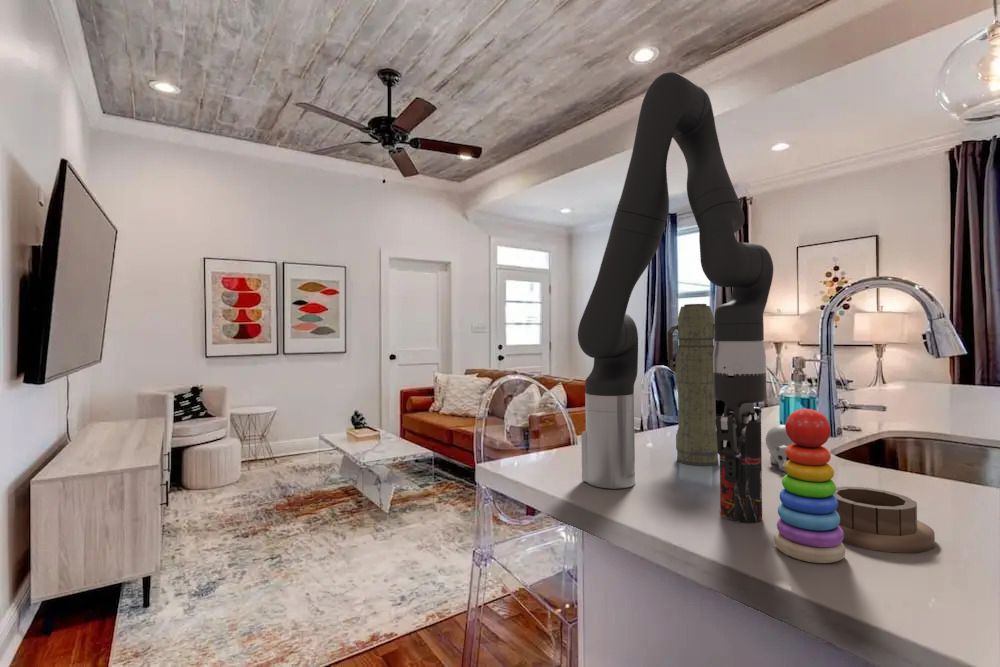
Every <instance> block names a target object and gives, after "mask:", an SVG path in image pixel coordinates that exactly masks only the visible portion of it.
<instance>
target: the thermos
mask: <svg viewBox="0 0 1000 667" xmlns="http://www.w3.org/2000/svg"><path fill="white" fill-rule="evenodd" d="M714 325H715V324H714V314H713V311H712V308H711V306H710V305H707V303H690V304H689V303H688V304H684V306H681V307H680V310H679V313H678V317H677V325H675V326H674V325H672V326H671V327H670V329H669V330H668V332H667V348H668V349H667V350H668V352H667V353H668V369H669V370H670V371H671V372H673V373H674V374H675V383H676V385H677V416H678V419H677V420H678V425H677V426H678V428H677V430H676V434H675V449H676V453H677V454H676V455H677V457H676V461H677V462H679V463H681V464H684V465H689V466H698V467H709V466H710V467H711V466H715V465H718V464H719V454H718V447H717V432H716V416H717V412H716V411H717V410H716V409H717V407H716V406H717V405H716V404H717V403H716V401H717V400H716V399H715V398H714V396H713V351H714ZM675 330H676V331H677V339H678V346H677V353H676V356H675V359H674V345H673V344H674V343H673V342H674V338H673V335H674V334H673V333H674V332H675ZM674 361H675V366H674Z"/></svg>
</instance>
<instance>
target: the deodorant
mask: <svg viewBox="0 0 1000 667" xmlns="http://www.w3.org/2000/svg"><path fill="white" fill-rule="evenodd" d="M745 427H746V444H743V445H742V456H741V470H742V481H741V482H740V483H738V484H737V483H731V482H727V481H726V480H725V457H723V455H719V495H720V496H719V499H720V500H719V501H720V502H719V504H720V505H719V506H720V509H719V510H720V512H719V513H720V516H721V517H722V518H724V519H726V520H728V521H732V522H737V523H743V524H754V523H755V524H756V523H761V522H762V520H763V478H762V477H763V474H762V473H763V472H762V471H763V469H762V468H763V466H762V463H763V462H762V420H761V421H760V420H756V421H752V420H751V423H741V428H740V429H739V430H737V429H736V437H740V436H741V434H742V429H744V428H745ZM723 443H724V441H723ZM729 448H731V442H729Z"/></svg>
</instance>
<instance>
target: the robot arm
mask: <svg viewBox="0 0 1000 667" xmlns="http://www.w3.org/2000/svg"><path fill="white" fill-rule="evenodd" d="M635 132H636V133H635V138H634V143H633V146H632V147H633V149H632V152H631V155H630V156H631V157H630V162H629V166H628V169H627V173H626V176H625V180H624V183H623V188H622V191H621V195H620V199H619V202H618V204H617V206H616V210H615V213H614V218H613V221H612V223H611V227H610V231H609V236H608V239H607V244H606V246H605V249H604V252H603V257H602V260H601V264H600V267H599V271H598V273H597V278H596V280H595V283H594V286H593V288H592V291H591V293H590V297H589V298H588V301H587V302H586V303H587V304H586V305H585V308H584V310H583V313H582V316H581V319H580V321H579V325H578V328H577V340H578V344H579V347H580V349H581V350H582V352H583V353H584V354H585V355H586V356H588V357H590V358H594V359H593V367H592V369H591V370H592V371H590V374H589V375H588V376H587V377H586V378H585V381H584V392H585V393H584V395H585V399H584V400H585V401H584V402H585V407H584V408H585V430H583V431H581V440H580V442H581V481H582V482H586V483H587V484H588V485H591V486H593V487H597V488H603V489H613V490H615V489H617V490H618V489H628V488H630V487H633V486H634V485H635V484H636V467H635V466H636V459H635V458H636V457H635V456H636V455H635V454H636V450H635V446H636V444H635V440H636V439H635V436H636V435H635V382H636V380H637V378H638V376H637V375H638V370H639V367H638V365H639V333H638V328H637V325H636V323H635V320H634V318H632V317H631V316H630V315H629V314H628V313H626V312H627V308H628V305H629V301H630V299H631V295H632V292H633V291H634V289H635V286H636V284H637V282H638V281H639V280H640V278H641V276H642V275H643V273H644V272H645V270H646V269H647V268H648V267H649V264H650V263H651V261H652V260H653V258H654V256H655V255H656V252H657V251H658V248H659V246H660V244H661V241H662V238H663V234H664V231H665V227H666V225H667V220H668V217H669V211H670V198H669V186H668V185H669V184H668V175H667V164H668V163H667V162H668V155H669V150H670V147H671V144H672V139H673V140H674V142H676V144H677V145H678V147H679V150H680V151H681V153H682V154H683V157H684V159H685V160H684V161H685V163H686V168H687V177H686V191H687V192H686V194H687V199H688V203H689V206H690V208H691V211H692V214H693V217H694V220H695V223H696V225H697V228H698V231H699V232H698V233H699V235H698V236H699V238H698V241H699V254H700V255H699V256H700V258H699V260H700V266H701V269H702V271H703V273H704V276H705V277H706V278H707V279H708V280H709V281H710V283H712V284H713V285H715V286H717V287H720V288H721V287H722V288H732V290H731V295H730V297H729V301H728V302H726V303H723V304H720V305H718V306H717V307H716V308H715V311H714V314H713V317H714V324H715V325H714V339H713V346H714V351H713V396H714V398H715V399H716V401H719V402H723V403H724V409H723V410H724V411H723V412H722V415H716V432H717V447H718V456H720V455H723V457H725V480H726V481H727V482H731V483H737V484H738V483H740V482H741V481H742V470H741V456H742V445H743V444H746V427H745V428H744V429H742V434H741V436H740V437H736V429H737V430H739V429H740V428H741V423H751V420H752V421H756V420H760V421H761V422H762V408H761V407H760V406H759V407H758V406H755V404H756V403H763V402H765V401H766V399H767V357H766V356H767V355H766V349H765V342H764V340H765V339H764V336H765V334H764V333H765V332H764V331H765V328H764V312H765V310H766V309H765V308H766V306H767V302H768V299H769V295H770V290H771V287H772V283H773V282H772V281H773V277H774V263H773V262H774V261H773V259H772V256H771V253H770V252H769V251H768V249H767V248H765V247H764V246H763V245H760V244H758V243H751V242H740V241H738V240H737V238H736V235H735V234H736V233H737V232H738V231H739V230H740V229H742V227H743V226H744V224H745V214H744V210H743V207H742V205H741V203H740V200H739V198H738V195H737V193H736V190H735V188H734V185H733V182H732V180H731V177H730V175H729V172H728V170H727V167H726V165H725V161H724V158H723V153H722V150H721V147H720V140H719V136H718V132H717V128H716V122H715V115H714V110H713V107H712V102H711V98H710V96H709V94H708V93H707V92H706V91H705V90H704V89H703V87H701V86H699V85H698V84H697V83H695V82H693V81H692V80H691V79H689V78H687V77H686V76H684V75H682V74H680V73H679V72H675V71H667V72H663V73H661V74H660V75H658V77H656V78H655V79H654V80H653V81H652V83H651V84H650V85H649V87H648V89H647V90H646V93H645V94H644V97H643V100H642V103H641V106H640V111H639V117H638V120H637V127H636V131H635ZM723 441H724V443H723ZM729 442H731V448H729Z"/></svg>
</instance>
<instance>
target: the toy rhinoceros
mask: <svg viewBox="0 0 1000 667" xmlns="http://www.w3.org/2000/svg"><path fill="white" fill-rule="evenodd" d="M791 444H795V443H794V442H792V441H791V439H790V438H789V437H788V435H787V433H786V428H785V424H777V425H774V426H772V427H771V428H770V429H769V430H768V431H767V433H766V435H765V445H766V448H767V449H768V453H769V454H770V457H769V459H770V462H771V464H773V465H775V466H778V467H779V469H780V470H781V471H782V472H784V473H786V471H785V464H786V462H787V461H789V460H790V459H789V458H788V457H787V455H786V449H787V447H788V446H789V445H791Z"/></svg>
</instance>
